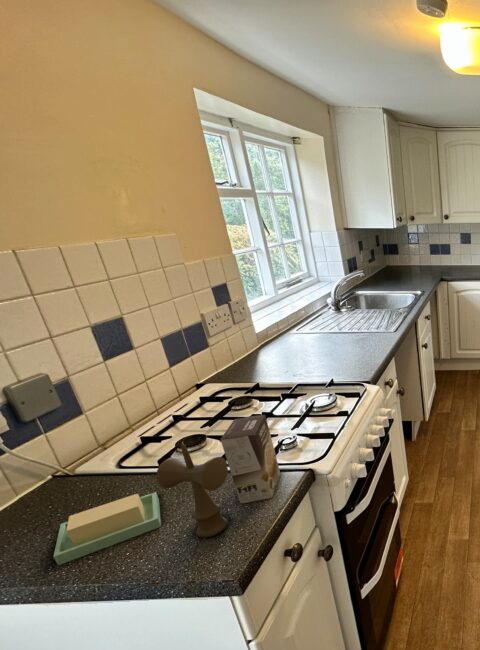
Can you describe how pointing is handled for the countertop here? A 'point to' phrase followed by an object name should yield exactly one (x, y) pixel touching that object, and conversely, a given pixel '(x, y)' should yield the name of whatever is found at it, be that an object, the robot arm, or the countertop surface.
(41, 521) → the countertop surface
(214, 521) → the kendama
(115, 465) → the countertop surface
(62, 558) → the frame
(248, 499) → the coffee box
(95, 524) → the tan block
